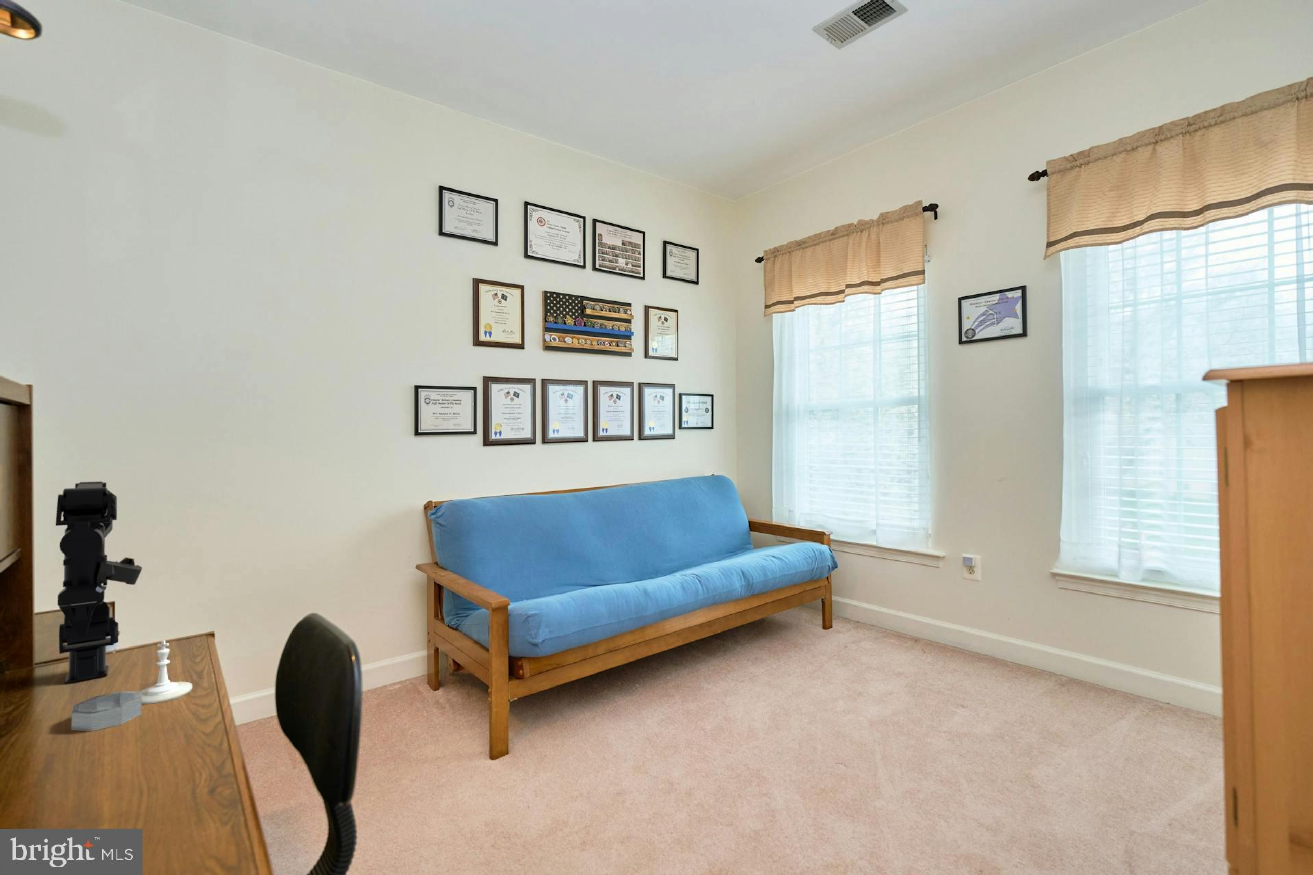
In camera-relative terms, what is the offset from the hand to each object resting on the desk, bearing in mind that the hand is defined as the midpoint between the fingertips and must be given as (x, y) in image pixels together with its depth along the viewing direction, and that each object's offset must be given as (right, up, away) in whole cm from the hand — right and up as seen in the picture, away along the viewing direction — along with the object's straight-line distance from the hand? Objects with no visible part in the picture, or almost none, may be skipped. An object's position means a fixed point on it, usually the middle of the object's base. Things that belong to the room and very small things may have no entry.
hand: (83, 631), depth 117 cm
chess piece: (+14, -13, +2) cm, 19 cm away
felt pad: (+14, -13, +2) cm, 19 cm away
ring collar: (+13, -13, -9) cm, 20 cm away
